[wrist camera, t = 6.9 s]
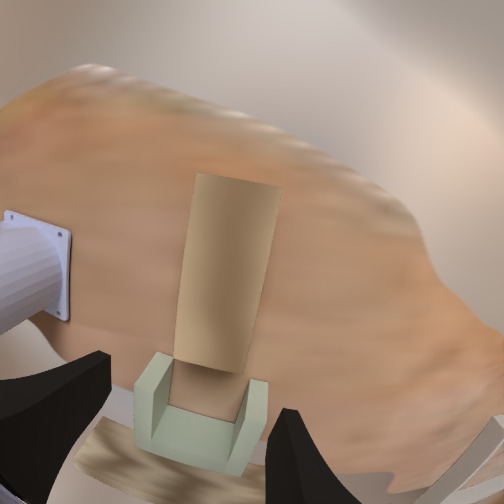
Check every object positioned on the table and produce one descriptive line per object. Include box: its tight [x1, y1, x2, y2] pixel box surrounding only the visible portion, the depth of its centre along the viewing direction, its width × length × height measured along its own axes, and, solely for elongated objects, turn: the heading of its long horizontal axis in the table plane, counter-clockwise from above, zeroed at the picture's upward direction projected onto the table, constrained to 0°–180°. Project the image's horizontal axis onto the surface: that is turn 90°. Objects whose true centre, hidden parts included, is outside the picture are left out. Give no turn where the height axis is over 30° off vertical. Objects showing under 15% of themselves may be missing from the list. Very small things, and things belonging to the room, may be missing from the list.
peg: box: [173, 172, 283, 375], centre depth 16 cm, size 4×10×5 cm, turn 169°
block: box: [134, 352, 268, 477], centre depth 19 cm, size 9×8×4 cm
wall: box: [73, 416, 265, 504], centre depth 20 cm, size 20×7×7 cm, turn 76°
